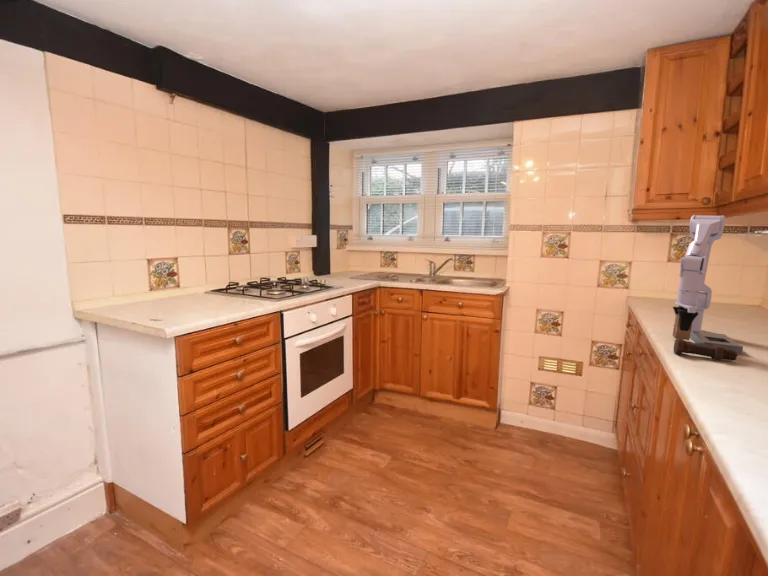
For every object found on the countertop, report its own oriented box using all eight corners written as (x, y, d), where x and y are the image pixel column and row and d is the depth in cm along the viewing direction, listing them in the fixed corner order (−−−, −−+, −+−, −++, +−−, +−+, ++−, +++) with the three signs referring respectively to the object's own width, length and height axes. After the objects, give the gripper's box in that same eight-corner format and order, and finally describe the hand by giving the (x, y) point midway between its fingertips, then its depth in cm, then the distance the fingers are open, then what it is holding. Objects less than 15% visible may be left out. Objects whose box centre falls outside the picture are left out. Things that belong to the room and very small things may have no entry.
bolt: (733, 368, 120) (673, 357, 126) (731, 356, 123) (672, 346, 130) (741, 355, 116) (678, 345, 123) (738, 343, 120) (677, 333, 126)
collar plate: (689, 336, 146) (690, 330, 145) (723, 341, 142) (724, 334, 141) (703, 349, 131) (704, 342, 131) (741, 354, 127) (743, 346, 127)
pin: (672, 335, 143) (676, 313, 141) (686, 337, 141) (689, 315, 140) (675, 338, 139) (679, 316, 138) (689, 340, 138) (693, 317, 136)
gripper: (710, 295, 129) (702, 335, 131) (696, 288, 142) (690, 325, 145) (683, 293, 132) (677, 332, 134) (672, 286, 145) (666, 322, 147)
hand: (682, 328), depth 140 cm, fingers closed on pin, 4 cm apart
